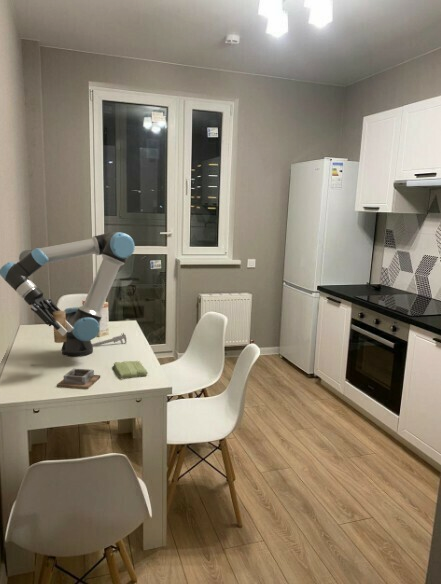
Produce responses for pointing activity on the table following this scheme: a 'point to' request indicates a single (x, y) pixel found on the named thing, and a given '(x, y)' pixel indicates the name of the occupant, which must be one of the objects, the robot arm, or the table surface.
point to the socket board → (79, 379)
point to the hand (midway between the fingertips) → (68, 332)
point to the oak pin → (61, 319)
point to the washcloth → (129, 369)
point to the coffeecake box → (103, 320)
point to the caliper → (112, 340)
